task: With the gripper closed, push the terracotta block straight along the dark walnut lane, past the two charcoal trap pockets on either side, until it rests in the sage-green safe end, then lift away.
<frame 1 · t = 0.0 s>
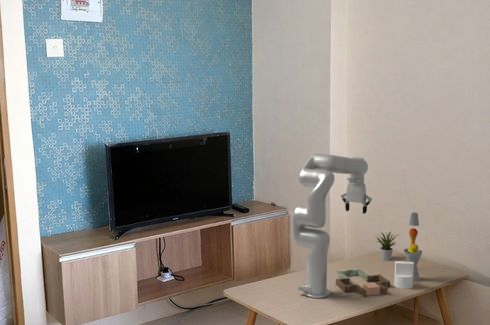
hand: (355, 212, 308), 31 cm above the table, tool pointing down, fingers open, 9 cm apart
terracotta block: (371, 292, 278), on the table
lava lamp: (411, 279, 296), on the table
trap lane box: (363, 286, 285), on the table
house plant: (387, 259, 329), on the table
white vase: (403, 285, 287), on the table
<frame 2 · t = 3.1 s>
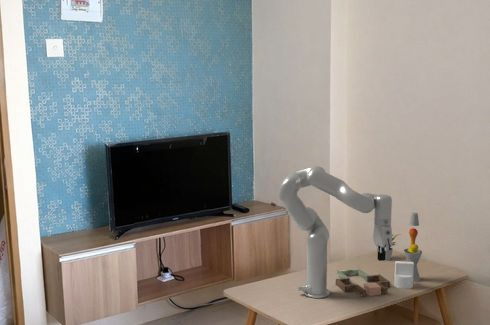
hand: (381, 260, 267), 19 cm above the table, tool pointing down, fingers closed
nothing on the table moved.
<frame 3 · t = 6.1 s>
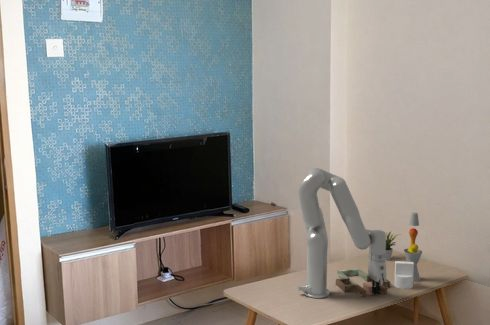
hand: (375, 293, 273), 1 cm above the table, tool pointing down, fingers closed
terracotta block: (371, 292, 278), on the table
everything else where it was.
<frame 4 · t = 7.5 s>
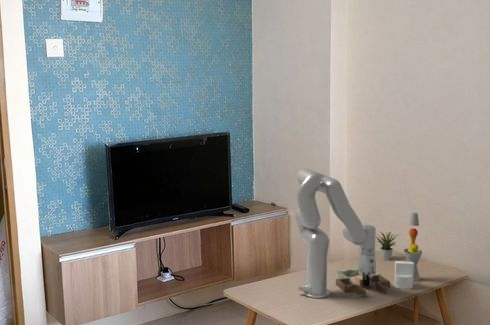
hand: (366, 286, 283), 1 cm above the table, tool pointing down, fingers closed
terracotta block: (362, 284, 288), on the table, touching gripper
everything else where it was.
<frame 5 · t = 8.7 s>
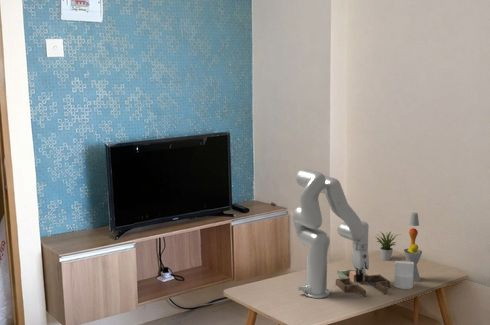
hand: (359, 281, 290), 1 cm above the table, tool pointing down, fingers closed
terracotta block: (357, 280, 295), on the table, touching gripper
everything else where it was.
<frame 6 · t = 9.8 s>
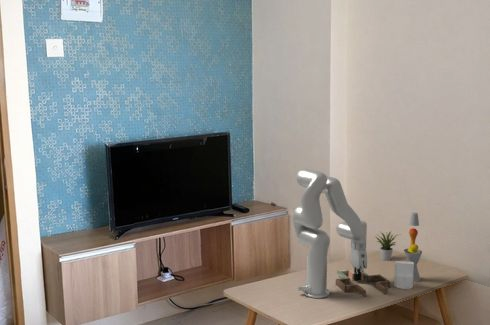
hand: (357, 280, 291), 1 cm above the table, tool pointing down, fingers closed
terracotta block: (355, 278, 297), on the table, touching gripper
everything else where it was.
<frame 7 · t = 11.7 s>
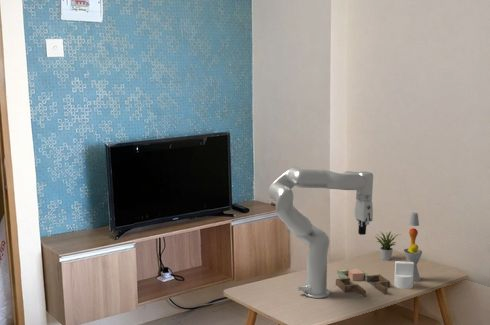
hand: (361, 234, 280), 27 cm above the table, tool pointing down, fingers closed
terracotta block: (355, 278, 297), on the table
everything else where it was.
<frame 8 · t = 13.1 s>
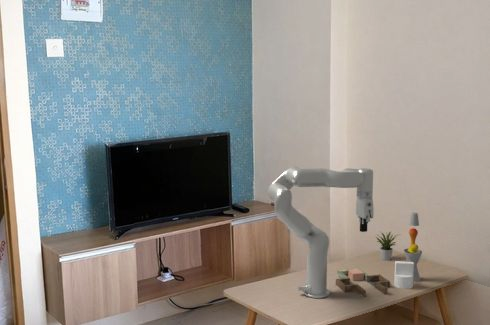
hand: (363, 231, 278), 29 cm above the table, tool pointing down, fingers closed
nothing on the table moved.
at the end: terracotta block inside the target area on the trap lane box (1.8 cm from its centre), point 0.0 cm above the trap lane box's base; terracotta block tilted 0°; the gripper is holding nothing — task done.
